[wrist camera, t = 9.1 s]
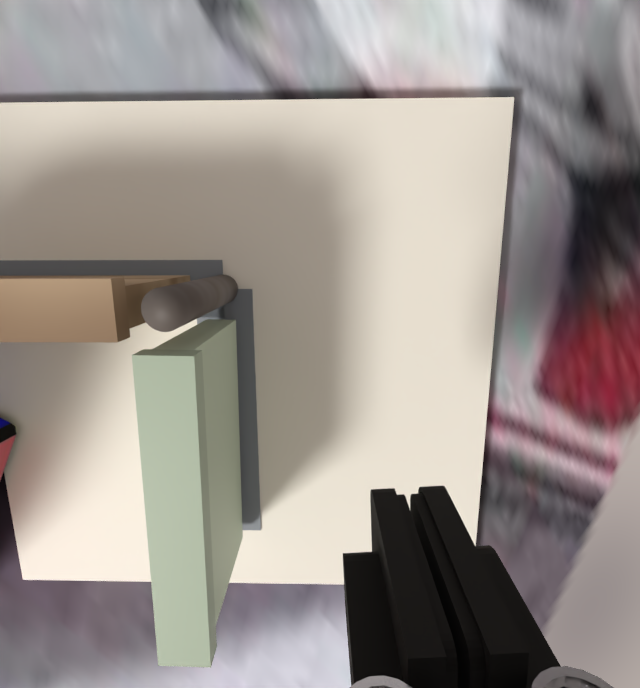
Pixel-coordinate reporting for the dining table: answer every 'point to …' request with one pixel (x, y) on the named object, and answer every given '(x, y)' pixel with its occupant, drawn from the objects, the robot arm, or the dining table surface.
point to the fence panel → (190, 483)
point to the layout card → (259, 312)
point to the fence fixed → (104, 305)
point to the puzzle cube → (6, 442)
